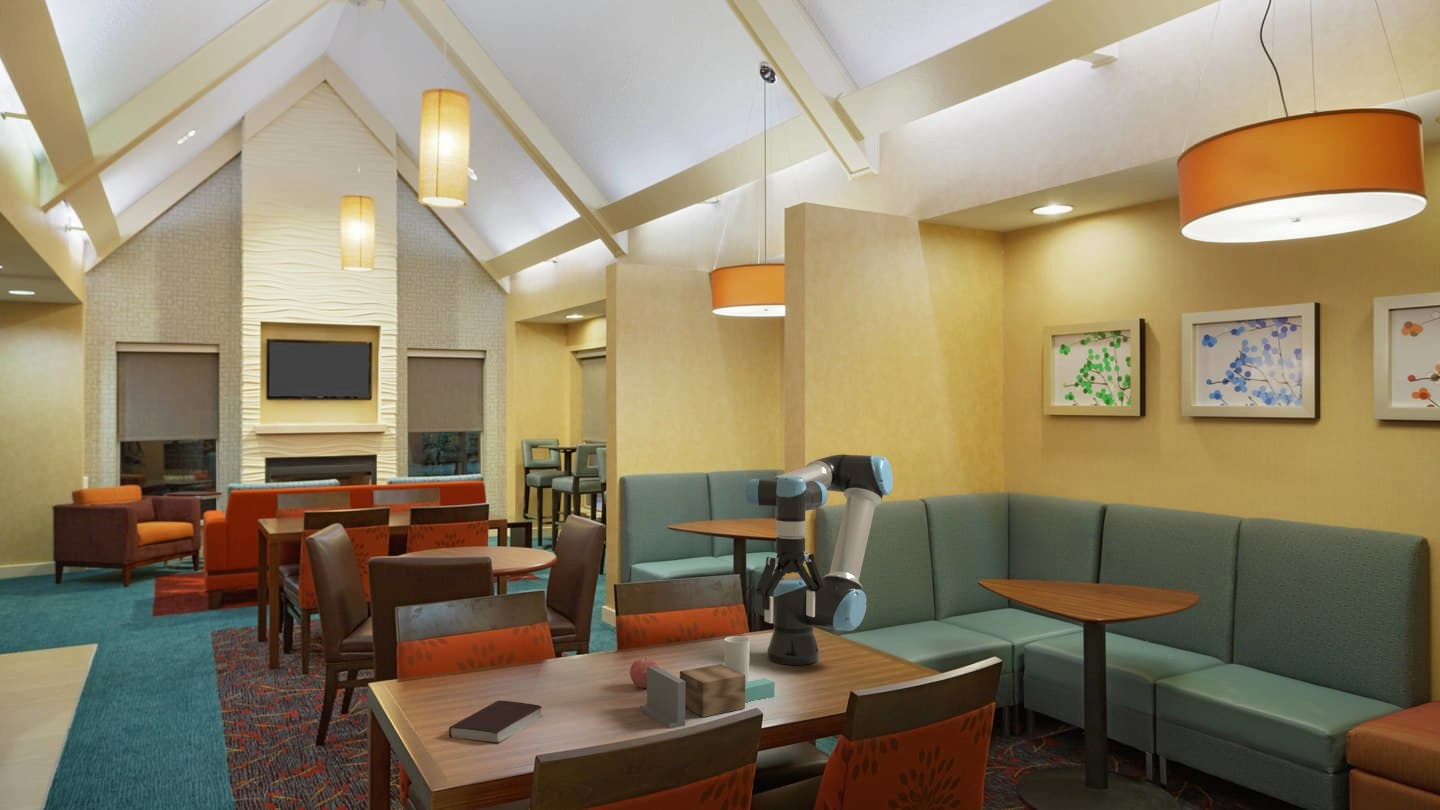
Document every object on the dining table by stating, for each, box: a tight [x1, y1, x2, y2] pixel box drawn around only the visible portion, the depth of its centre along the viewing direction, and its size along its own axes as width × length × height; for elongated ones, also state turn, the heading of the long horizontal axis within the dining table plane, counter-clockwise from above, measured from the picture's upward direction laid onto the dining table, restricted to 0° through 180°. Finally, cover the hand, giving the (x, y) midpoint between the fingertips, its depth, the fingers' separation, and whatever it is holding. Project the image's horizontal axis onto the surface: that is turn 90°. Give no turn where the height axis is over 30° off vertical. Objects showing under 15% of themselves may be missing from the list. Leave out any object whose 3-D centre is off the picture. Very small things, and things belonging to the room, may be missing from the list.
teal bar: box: [745, 677, 776, 704], centre depth 225 cm, size 14×4×4 cm, turn 126°
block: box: [679, 663, 746, 718], centre depth 219 cm, size 12×11×8 cm
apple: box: [629, 657, 659, 689], centre depth 234 cm, size 7×7×8 cm
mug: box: [723, 635, 751, 682], centre depth 238 cm, size 10×7×12 cm, turn 24°
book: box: [448, 699, 543, 745], centre depth 205 cm, size 12×19×3 cm, turn 161°
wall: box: [639, 665, 686, 729], centre depth 212 cm, size 4×15×10 cm, turn 33°
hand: (790, 619), depth 232 cm, fingers open, 13 cm apart
